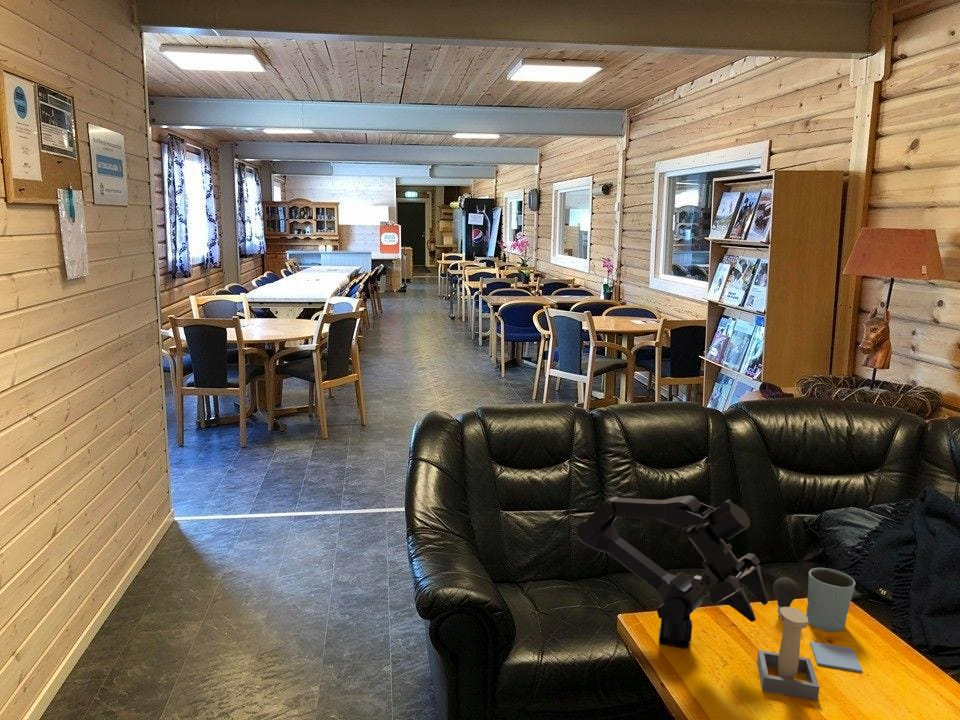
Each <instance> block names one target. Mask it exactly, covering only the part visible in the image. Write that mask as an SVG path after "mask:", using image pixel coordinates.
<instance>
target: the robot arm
mask: <svg viewBox="0 0 960 720" xmlns="http://www.w3.org/2000/svg"><path fill="white" fill-rule="evenodd" d="M618 517H623V518H624V517H625V518H635V519H636V518H637V519H650V520H659V521H661V522H662V523H663V522H664V523H665V524H667V525H670V526H673V527H677V528H681V529H680V533H681V534H680V540H679V542H680V543H683V544H684V543H685V542H686V541H688V540H690V542H691V543H692V544H693V546H694V548H696V551H698V553H699V554H700V555H701V556H702V558H703V560H704V561H702V566H703V568H704V569H705V570H704V571H703V573H702V574H701V575H695V576H693V578H692V579H691V578H690V577H689V576H687V575H686V573H684V572H682V571H681V572H679V573H678V574H676V575H675V574H671V573H669V572H668V571H666V569H665V570H664V568H662V567H661V566H659V565H658V564H657V563H656V562H654V561H653V560H652V559H650V558H648V556H646V555H645V554H643V553H642V552H641V551H640V550H639V549H637V548H636V547H634V546H633V545H632V544H630V543H629V542H628V541H627V540H625V539H624V538H622V537H621V536H620V535H619V532H618V531H617V529H616V527H615V525H614V524H613V523H614V522H615V521H616V519H617V518H618ZM706 521H707V522H706ZM704 522H706V523H704ZM690 525H691V526H692V527H689V526H690ZM750 526H751V520H750V517H749V516H748V513H747V512H746V511H745V510H744V509H743V508H741V507H740V506H739V505H738V504H735V503H733V501H732V500H731V499H727V500H725V501H724V502H723V503H721V505H720V506H719V507H717V508H716V507H713V506H710V505H708V504H705V503H703V502H701V501H700V500H698V498H697V497H695V496H694V495H683V496H675V497H671V498H666V499H650V498H649V499H647V498H646V499H645V498H631V497H619V496H611V497H609V498H607V499H605V500H604V501H602V503H601V504H600V506H599V507H598V508H597V509H596V510H595V511H594V512H593V513H592V514H591V515H590V516H589V517H588V518H586V519H585V520H583V521H581V522H580V523H578V525H577V528H576V533H577V537H578V539H579V541H580V542H581V543H583V544H584V545H587V546H588V547H590V548H592V549H593V550H597V551H601V552H605V553H607V554H608V555H610V556H611V557H612V558H614V559H615V560H616V561H618V562H619V563H620V564H622V566H624V567H626V568H627V570H629V571H631V572H632V573H634V574H635V575H636V576H637V577H638V578H640V579H641V581H642V580H643V581H644V582H645V583H646V584H647V585H649V586H650V587H651V588H653V589H654V590H655V591H656V592H657V594H658V596H659V598H660V599H661V602H662V603H661V605H659V606H658V607H657V608H656V611H657V617H658V618H659V619H660V628H659V630H658V631H659V634H658V643H659V644H661V645H667V646H673V647H677V648H684V649H688V648H689V647H690V646H689V644H690V643H691V640H692V633H693V632H692V631H693V621H692V619H691V614H693V612H694V611H696V609H698V608H699V607H700V605H702V604H703V601H704V596H705V597H706V596H707V597H708V598H709V600H710V601H711V603H712V604H717V605H727V606H730V607H731V608H732V609H734V610H735V611H736V612H738V613H739V614H740V615H741V616H743V617H745V618H746V619H747V620H748V621H749V622H751V623H753V622H755V621H756V620H757V618H756V615H755V612H754V610H753V608H752V605H751V602H750V600H749V598H748V596H747V593H746V590H745V587H746V588H747V589H748V590H749V591H750V592H751V593H752V594H753V595H754V597H755V598H756V599H757V600H758V601H759V602H760V603H761V604H762V605H764V606H766V605H767V604H768V603H769V601H768V598H767V593H766V590H765V585H764V579H763V576H762V571H761V565H760V563H761V561H760V560H759V558H758V557H757V555H756V554H754V553H752V552H751V553H750V552H749V553H747V554H745V555H743V556H742V557H740V558H737V557H736V556H735V555H734V553H733V552H732V549H733V546H732V545H731V543H728V544H727V543H726V542H725V541H724V540H726V541H728V540H730V539H732V538H733V537H735V536H737V535H739V534H740V533H741V532H743V531H745V530H747V529H748V528H750ZM723 539H724V540H723ZM741 584H742V585H743V586H741ZM744 586H745V587H744Z"/></svg>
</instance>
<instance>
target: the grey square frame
mask: <svg viewBox="0 0 960 720" xmlns="http://www.w3.org/2000/svg"><path fill="white" fill-rule="evenodd" d="M778 659H779V652H774V651H773V652H772V651H768V650H762V649H758V651H757V659H756V660H757V662H756V663H757V668H758V673H759V680H760V685H761V689H762V692H769V693H774V694H780V695H786V696H791V697H794V698H795V697H796V698H802V699H806V700H812V701H818V700H819V695H820V694H819V693H820V684H819V682H818V678H817V675H816V672H815V669H814V667H813V663H812V660H811V658H810V657H809V658H808V657H801V656H799V664H798V669H797V673H801V674H804V675H805V680H806V681H802V680H797V679H795V680H792V679H786V678H781V677H778V676H774V675H769V672H768V668H772V669H778Z"/></svg>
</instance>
